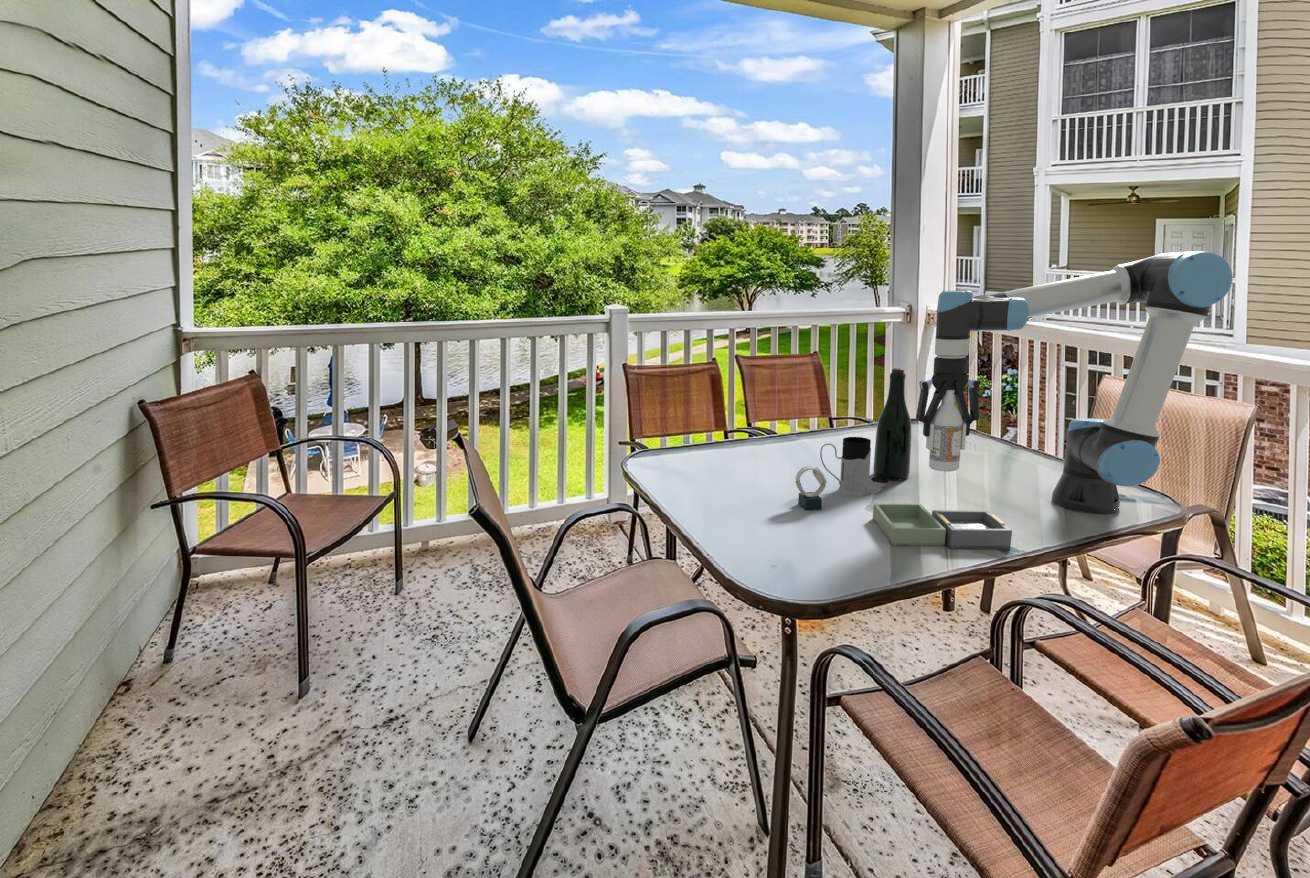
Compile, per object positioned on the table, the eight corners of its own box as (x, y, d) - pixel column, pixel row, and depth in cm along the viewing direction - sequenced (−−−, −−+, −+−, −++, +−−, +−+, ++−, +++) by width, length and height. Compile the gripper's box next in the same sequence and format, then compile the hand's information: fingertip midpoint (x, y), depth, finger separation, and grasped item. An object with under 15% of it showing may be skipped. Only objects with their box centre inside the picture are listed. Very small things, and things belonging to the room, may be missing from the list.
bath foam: (948, 473, 165) (953, 392, 160) (923, 467, 170) (927, 389, 166) (964, 468, 168) (970, 389, 164) (939, 463, 174) (944, 386, 169)
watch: (828, 509, 179) (830, 469, 176) (799, 511, 178) (800, 470, 175) (820, 502, 184) (821, 463, 182) (791, 504, 183) (793, 465, 181)
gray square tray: (985, 528, 164) (987, 509, 163) (1010, 549, 151) (1012, 529, 150) (930, 528, 165) (932, 509, 163) (950, 549, 152) (952, 528, 151)
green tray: (919, 518, 171) (920, 503, 170) (944, 546, 154) (945, 529, 153) (872, 518, 171) (873, 503, 170) (892, 545, 154) (893, 529, 153)
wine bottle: (875, 480, 202) (882, 370, 195) (870, 471, 212) (876, 366, 205) (912, 481, 201) (920, 371, 193) (905, 472, 211) (913, 366, 203)
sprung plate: (982, 524, 162) (982, 521, 162) (1000, 540, 152) (1001, 536, 152) (939, 524, 163) (940, 520, 162) (955, 539, 153) (955, 536, 153)
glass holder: (872, 496, 189) (875, 444, 185) (819, 494, 191) (821, 442, 188) (868, 486, 197) (871, 436, 193) (817, 485, 199) (819, 435, 196)
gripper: (987, 353, 166) (980, 444, 171) (904, 355, 167) (899, 445, 173) (1000, 356, 159) (992, 451, 164) (913, 359, 160) (908, 453, 165)
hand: (945, 448), depth 168 cm, fingers closed on bath foam, 7 cm apart
